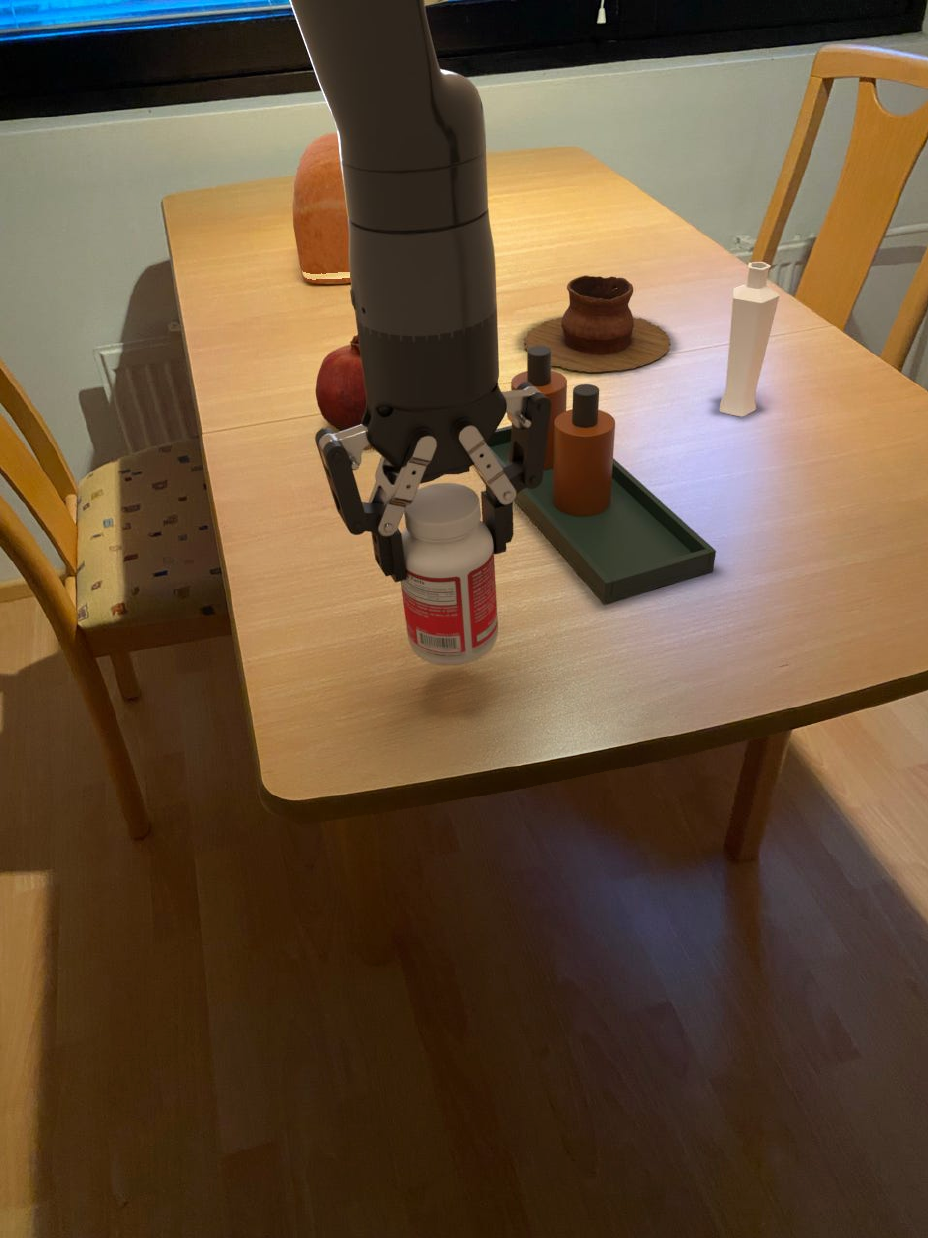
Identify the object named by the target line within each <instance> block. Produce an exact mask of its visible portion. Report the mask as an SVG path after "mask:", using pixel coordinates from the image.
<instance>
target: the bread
mask: <svg viewBox="0 0 928 1238" xmlns="http://www.w3.org/2000/svg"><path fill="white" fill-rule="evenodd" d="M340 161H341V159H340V150H339V139H338V133H337V132H330V133H325V134H323V135H321V136H318V137H317V138H315V139H314V140H313V141H312V142H310V144H309V145H307V147H306V148H305V150H304V152H303V154H302V155H301V157H300V159H299V164H298V166H297V168H296V172H295V173H296V174H295V178H294V182H293V198H292V225H293V226H292V227H293V232H294V238H295V245H296V251H297V257H298V262H299V268H300V271H301V270H302V271H303V272H306V273H310V274H321V273H322V274H326V273H338V272H350V269H349V227H348V215H347V209H346V201H345V193H344V185H343V177H342V169H341V162H340ZM302 271H301V272H302ZM302 277H303V278H304V280H305V281H306V282H308V283H311V284H320V285H324V284H325V285H337V284H338V285H343V284H344V285H345V284H351V279H350V278H342V279H316V280H312V279H307V278H305V277H304V276H303V275H302Z"/></svg>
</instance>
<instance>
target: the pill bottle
mask: <svg viewBox="0 0 928 1238" xmlns="http://www.w3.org/2000/svg"><path fill="white" fill-rule="evenodd" d="M480 502H481V501H480V498H479V495H478V494H477V492H476V491H475V490H474V489H472V488H471V487H468V486H467V485H463V484H459V483H455V482H437V483H433V484H429V485H425V486H423V487H420V488H418V489H417V492H416V494H415V497H414V499H413V502H412V503H411V504H410V505H407V506H406V508H405V511H404V513H403V516H404V522H405V527H404V529H402V531H400V532H401V535H402V543H403V552H404V561H405V569H406V580H403V581H400V588H401V596H402V604H403V609H404V618H405V624H406V625H405V626H406V633H407V638H408V643H409V646H410V648H411V650H412V651H413V652H414V654H416V656H418V657H419V658H420V659H422V660H423V661H424V662H428V663H430V664H433V665H436V666H437V665H438V666H444V667H454V666H462V665H466V664H469V663H473V662H475V661H477V660H480V659H481V658H482V657H484V656H486V655H487V654H488V653H489V652H490V651H491V650H492V649H493V647H494V646H495V645H496V642H497V638H498V632H499V621H498V620H499V619H498V605H497V604H498V603H497V602H498V601H497V600H498V599H497V585H496V584H497V583H496V565H495V554H494V546H493V538H492V535H491V533H490V531H489V529H488V528H487V526H486V525H485V524H484V523H483V522H482V520H481V519H482V510H481V505H480V504H481V503H480Z"/></svg>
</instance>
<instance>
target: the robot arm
mask: <svg viewBox="0 0 928 1238" xmlns="http://www.w3.org/2000/svg"><path fill="white" fill-rule="evenodd" d="M448 1H449V0H289V3H290V6H291V9H292V12H293V14H294V17H295V20H296V23H297V25H298V28H299V31H300V34H301V37H302V39H303V42H304V45H305V47H306V50H307V53H308V56H309V58H310V62H311V65H312V67H313V70H314V73H315V77H316V79H317V82H318V84H319V87H320V90H321V92H322V94H323V98H324V99H325V102H326V104H327V107H328V109H329V111H330V114H331V117H332V119H333V122H334V126H335V129H336V133H338V139H339V150H340V159H341V161H340V162H341V169H342V177H343V185H344V193H345V201H346V209H347V215H348V227H349V269H350V279H351V283H350V290H349V294H350V303H351V306H352V307H353V310H354V315H355V323H356V331H357V335H358V340H359V347H360V355H361V363H362V370H363V378H364V385H365V393H366V400H367V404H366V410H365V413H364V416H363V418H362V421H361V425H358V426H355V427H352V428H350V429H347V430H344V431H339V432H335V431H334V430H333V429H332V428H330V427H323V428H321V429H319V430H318V431H317V432H316V433H315V437H314V440H315V444H316V448H317V450H318V454H319V457H320V460H321V463H322V466H323V469H324V473H325V476H326V480H327V482H328V486H329V488H330V492H331V496H332V499H333V502H334V505H335V508H336V511H337V513H338V514H339V517H340V518H341V520H342V522H343V524H344V525H345V527H346V529H347V531H348V532H349V534H351V535H354V536H360V535H362V534H363V533H365V532H370V533H371V540H372V546H373V554H374V560H375V561H376V563H377V565H378V566H379V568H380V570H381V572H382V573H383V574H384V576H385V577H389V576H390V577H391V579H392V580H393V582H394V583H395V584H396V583H399V582H400V583H401V581H403V580H406V569H405V561H404V552H403V543H402V535H401V532H402V531H401V530H400V529H399V526H400V523H401V521H402V518H403V516H404V511H405V508H406V506H407V505H410V504H411V503H412V502H413V499H414V497H415V494H416V492H417V490H418V489H419V486H420V484H421V485H422V484H425V483H429V482H433V481H435V480H438V479H439V478H441V477H443V476H445V475H461V474H466V473H468V472H470V470H471V469H470V468H471V467H473V469H474V471H475V473H476V474H477V475H478V477H479V479H481V481H482V482H483V484H484V485H485V490H483V491H480V499H481V501H480V502H481V503H480V504H481V521H482V522H483V523H484V524H485V525H486V526H487V528H488V529H489V531H490V533H491V535H492V538H493V546H494V556H495V555H501V554H503V553H506V552H507V544H509V543H511V542H512V540H513V537H514V502H515V501H514V499H515V498H516V494H517V493H519V492H520V491H522V490H523V489H525V488H526V487H527V488H529V489H534V488H536V487H538V486H539V485H540V484H541V482H542V480H543V472H544V463H545V455H546V446H547V438H548V430H549V421H550V413H551V401H550V400H549V399H548V398H547V397H546V396H545V395H544V394H543V393H542V392H541V391H540V390H538V389H537V388H536V387H534V386H533V385H532V384H531V383H529V382H523V383H521V384H520V385H519V386H518V387H517V389H516V390H514V391H511V390H505V391H501V389H500V385H499V378H500V360H499V359H500V358H499V357H500V355H499V332H498V331H499V330H498V301H497V300H498V299H497V271H496V254H495V251H496V250H495V244H494V238H493V232H492V228H491V226H492V225H491V221H490V210H489V194H488V193H489V192H488V191H489V190H488V166H487V165H488V164H487V163H488V162H487V161H488V160H487V132H486V131H487V129H486V120H485V119H486V118H485V113H484V112H485V111H484V106H483V101H482V98H481V96H480V92H479V91H478V88H477V87H476V86H475V85H474V83H473V82H472V81H471V80H470V79H469V78H467V77H465V76H464V75H462V74H459V73H458V72H455V71H452V70H447V69H443V68H441V67H440V64H439V61H438V57H437V54H436V50H435V47H434V43H433V38H432V34H431V30H430V25H429V21H428V15H427V12H426V11H427V10H426V6H432V5H437V4H440V3H444V2H445V3H446V2H448ZM505 416H506V417H507V420H508V421H509V422H510V423H511V426H512V435H511V446H510V457H509V464H508V465H507V466H505V467H503V468H502V467H501V465H500V464H499V462H498V461H497V459H496V458H495V456H494V455H493V453H492V452H491V450H490V449H489V447H488V446H487V445H488V443H489V441H490V440H491V438H492V436H493V435H494V433H495V431H496V430H497V429H499V426H500V424H501V423H502V422H503V420H504V418H505ZM512 424H513V425H512ZM369 446H370V447H372V449H373V450H375V451H376V452H377V453H378V455H380V456H381V457H380V460H379V462H378V465H377V467H376V469H375V473H374V474H375V475H374V478H375V484H374V486H373V489H372V492H371V495H370V497H369V500H368V501H362V498H361V495H360V491H359V487H358V484H357V481H356V477H355V474H354V471H357V470H359V468H360V466H361V464H362V460H363V459H362V453H363V452H364V450H365V449H366V448H367V447H369Z"/></svg>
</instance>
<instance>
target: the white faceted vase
mask: <svg viewBox="0 0 928 1238" xmlns="http://www.w3.org/2000/svg"><path fill="white" fill-rule="evenodd" d="M747 267H748V273H747V281H746V283H743V284H742V285H741V284H740V285H739V286H736V287H734V288H733V292H732V303H731V314H730V315H731V318H730V328H729V339H728V340H729V341H728V353H727V364H726V376H725V377H726V379H725V389H724V393H723V395H722V398H721V401H720V404H719V412H720V413H722V414H727V415H732V416H736V417H740V418H741V417H742V418H743V417H746V416H747V415H749V414H751V413H753V412H754V411H756V410H757V406H756V405H757V404H756V403H757V402H756V392H757V388H758V383H759V379H760V376H761V372H762V368H763V365H764V364H763V363H764V360H765V357H766V352H767V348H768V344H769V340H770V336H771V332H772V328H773V325H774V320H775V316H776V312H777V309H778V304H779V301H780V296H781V294H779V293H778V292H777V291H775V290H774V289H772V288H770V287H769V286H767V283H768V276H769V270H770V269H771V267H772V265H771V264H769V263H766V262H764V261H753V262H752V261H751V262H748V265H747Z"/></svg>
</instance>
